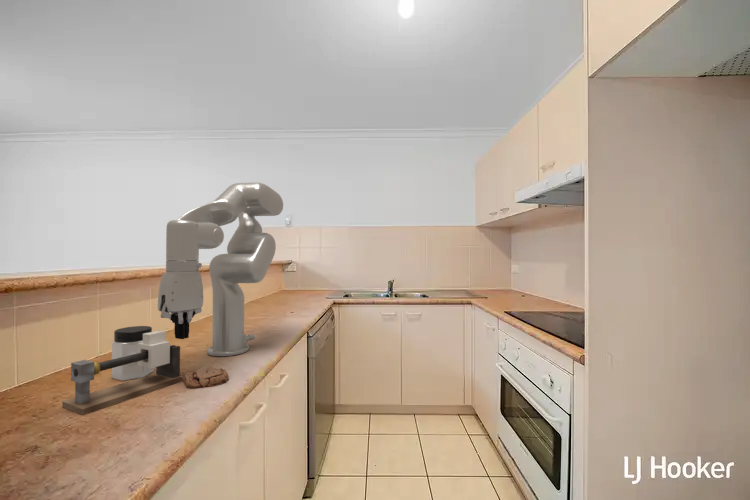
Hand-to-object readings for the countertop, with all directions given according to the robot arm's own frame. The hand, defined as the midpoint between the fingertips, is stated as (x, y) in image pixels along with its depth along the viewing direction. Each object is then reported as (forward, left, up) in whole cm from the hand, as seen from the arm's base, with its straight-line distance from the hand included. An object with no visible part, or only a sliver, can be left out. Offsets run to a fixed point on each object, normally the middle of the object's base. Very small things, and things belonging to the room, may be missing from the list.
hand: (181, 338), depth 92 cm
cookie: (0, +9, -10) cm, 14 cm away
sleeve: (+7, 0, -5) cm, 9 cm away
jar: (+5, -12, -10) cm, 16 cm away
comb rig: (+13, 0, -10) cm, 16 cm away
